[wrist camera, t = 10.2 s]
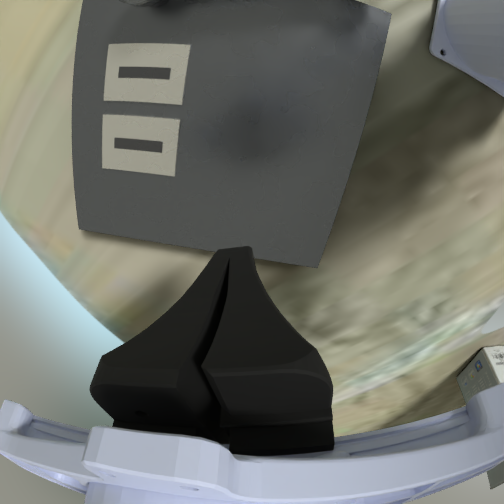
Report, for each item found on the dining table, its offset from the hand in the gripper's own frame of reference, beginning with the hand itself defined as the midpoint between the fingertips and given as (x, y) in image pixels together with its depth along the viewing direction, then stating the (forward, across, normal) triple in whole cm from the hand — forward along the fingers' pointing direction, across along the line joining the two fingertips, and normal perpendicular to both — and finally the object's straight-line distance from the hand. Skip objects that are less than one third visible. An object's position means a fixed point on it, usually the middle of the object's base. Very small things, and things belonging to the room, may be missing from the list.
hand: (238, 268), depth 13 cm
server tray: (+10, +2, -5) cm, 12 cm away
